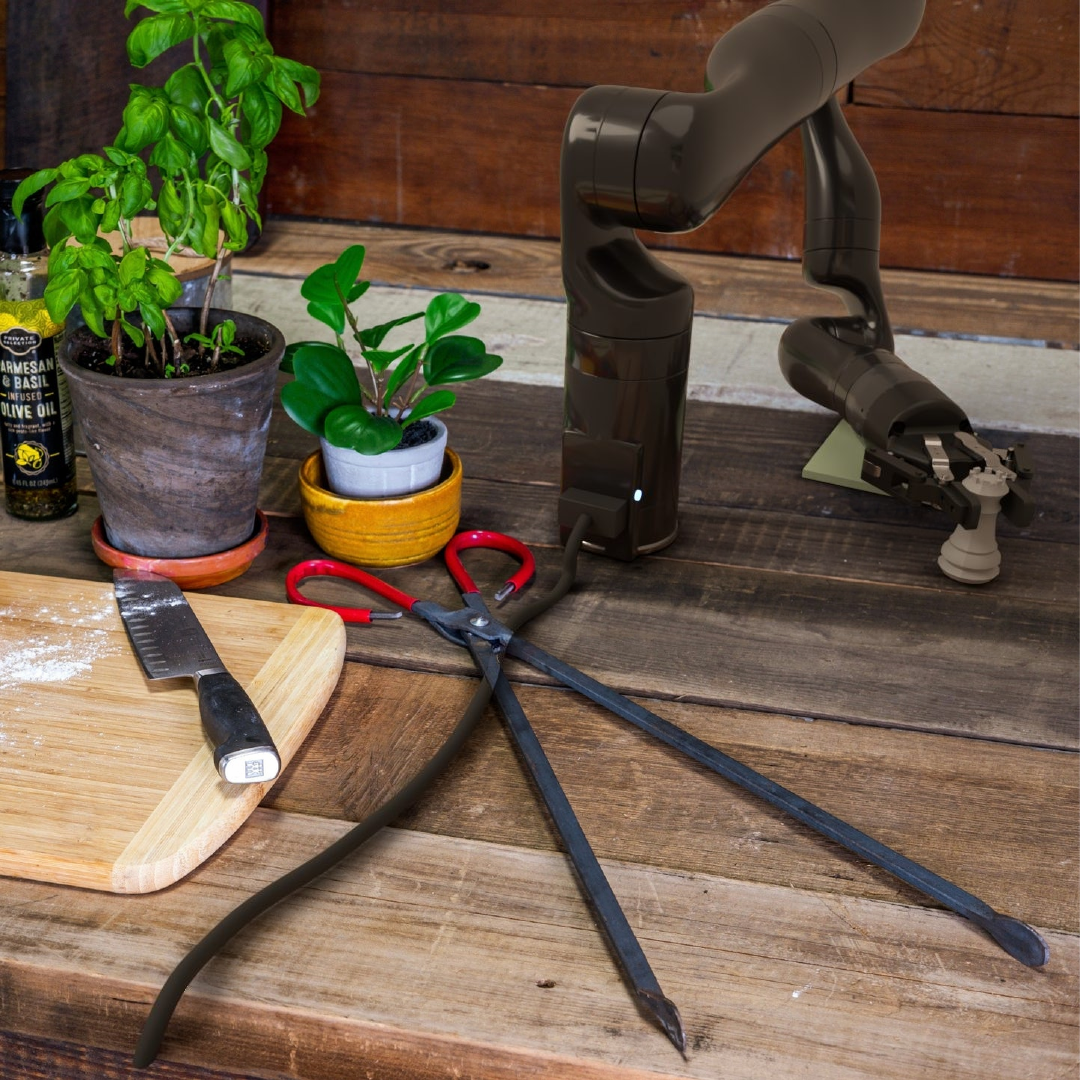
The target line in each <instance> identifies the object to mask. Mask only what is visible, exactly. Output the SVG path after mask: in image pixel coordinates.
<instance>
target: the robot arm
mask: <svg viewBox="0 0 1080 1080" xmlns="http://www.w3.org/2000/svg"><path fill="white" fill-rule="evenodd" d="M926 5H927V0H777V1H775V2H772V3H770V4H768V5H765V6H764V7H762V8H760V9H758V10H756V11H754V12H753V13H751V14H750V15H749V16H747V17H745V18H744V19H742V20H741V21H740V22H738V23H736V24H735V25H734V26H732V27H731V28H730V29H729V30H727V31H726V32H725V33H724V34H723V35H722V36H721V37H720V38H719V40H718V41H717V42H716V43H715V45H714V46H713V48H712V50H711V51H710V53H709V56H708V57H707V61H706V64H705V68H704V77H703V91H704V92H703V93H701V92H700V93H698V92H697V93H696V92H680V91H673V90H665V89H655V88H646V87H636V86H635V87H634V86H627V85H626V86H625V85H615V84H599V85H598V84H597V85H595V86H592V87H591V86H590V87H589V88H587V89H585V90H584V91H583V92H582V93H581V94H580V95H579V96H578V97H577V99H576V100H575V101H574V103H573V105H572V107H571V109H570V111H569V113H568V116H567V119H566V121H565V123H564V128H563V132H562V137H561V142H560V143H561V144H560V151H559V152H560V153H559V165H558V166H559V167H558V168H559V169H558V172H559V173H558V175H559V176H558V177H559V178H558V179H559V180H558V181H559V183H558V185H559V186H558V189H559V190H558V191H559V192H558V193H559V194H558V195H559V219H560V221H559V223H560V226H559V227H560V275H561V276H560V277H561V283H562V287H563V292H564V295H565V299H566V322H565V351H564V352H565V355H564V379H563V380H564V381H563V405H562V406H563V407H562V409H563V411H562V433H561V448H560V454H561V455H560V475H559V476H560V478H559V496H558V498H557V525H558V537H557V538H558V539H557V543H558V544H560V545H563V546H565V549H564V552H563V571H562V574H561V576H560V579H559V580H558V582H557V584H556V585H555V586H554V588H553V589H552V590H551V591H550V592H549V593H548V594H547V595H546V596H544V597H542V598H541V599H539V600H537V601H535V602H532V603H530V604H528V605H525V606H524V607H522V608H521V609H519V610H517V611H516V612H514V613H513V614H511V615H510V616H509V617H508V619H507V620H505V622H504V623H503V625H505V626H506V627H507V628H509V629H510V630H511V631H513V632H514V633H515V634H516V632H517V631H518V629H520V628H521V626H522V625H524V624H525V623H526V622H528V621H529V620H531V619H533V618H535V617H537V616H539V615H540V614H542V613H543V612H544V611H545V610H547V609H549V608H550V607H552V606H553V605H554V604H555V603H557V602H558V601H560V600H561V599H562V598H564V596H566V594H568V592H569V591H570V589H571V587H572V585H573V583H574V582H575V579H576V576H577V572H578V571H577V570H578V554H579V550H583V551H587V552H591V553H593V554H599V555H603V556H606V557H610V558H615V559H618V560H622V561H625V562H631V561H633V560H634V559H635V558H637V557H638V556H643V555H647V554H651V553H655V552H658V551H660V550H662V549H665V548H666V547H668V546H669V545H671V544H672V543H673V542H674V540H676V537H677V536H678V527H679V522H678V521H679V520H678V511H679V499H680V485H681V474H682V473H681V471H682V461H683V449H684V448H683V446H684V435H685V425H686V423H685V421H686V412H687V411H686V409H687V400H688V399H687V397H688V386H689V373H690V362H691V352H692V351H691V350H692V341H693V340H692V339H693V338H692V337H693V327H694V316H695V306H696V304H695V303H696V301H695V299H696V298H695V290H694V288H693V285H692V284H691V282H690V281H689V279H687V278H686V277H685V276H684V275H682V274H681V273H679V272H677V271H676V270H675V269H673V268H671V267H669V266H668V265H666V264H665V263H664V262H662V261H661V260H660V259H658V258H657V257H656V256H655V255H654V254H653V253H651V251H649V250H648V248H647V247H646V245H644V243H643V242H642V240H641V239H640V238H639V236H638V234H637V232H636V230H638V231H645V232H651V233H655V234H656V233H657V234H663V235H664V234H665V235H682V234H689V233H691V232H694V231H697V229H699V228H701V227H702V226H704V225H705V224H706V223H708V222H709V221H710V220H711V219H712V218H713V217H714V216H715V215H716V214H717V213H718V212H719V211H720V209H722V208H723V206H724V205H725V204H726V203H727V201H728V200H729V199H730V198H731V197H732V196H733V194H734V193H735V192H736V190H737V189H738V188H739V187H740V185H741V184H742V183H743V182H744V180H746V178H747V177H748V176H749V174H750V173H751V171H752V170H753V169H754V168H755V167H756V166H757V165H758V163H760V161H761V160H762V159H764V158H765V157H766V156H767V154H769V153H770V152H771V151H772V150H773V149H774V148H775V147H776V146H778V144H779V143H780V142H781V141H782V140H783V139H785V138H786V137H787V136H788V135H789V134H791V133H792V132H793V131H795V130H796V129H798V128H799V132H800V143H801V153H802V163H803V187H804V189H803V190H804V193H803V194H804V196H803V198H804V199H803V203H804V204H803V225H802V249H801V252H802V254H801V276H802V281H803V282H804V283H805V284H806V285H807V286H808V287H811V288H813V289H816V290H819V291H823V292H827V293H830V294H833V295H836V296H837V297H839V298H840V300H841V301H842V303H843V304H844V307H845V308H846V309H845V310H846V312H847V314H848V315H821V314H820V315H819V314H818V315H817V314H815V315H813V314H812V315H804V316H801V317H798V318H796V319H795V320H794V321H792V322H790V324H788V326H787V327H785V329H784V331H783V332H782V334H781V336H780V338H779V341H778V345H777V361H778V366H779V369H780V371H781V375H782V376H783V378H784V380H785V381H786V383H787V384H788V386H789V387H790V388H791V389H792V390H794V391H795V392H796V393H797V394H799V395H800V396H802V397H803V398H805V399H807V400H809V401H810V402H812V403H815V404H817V405H819V406H821V407H823V408H825V409H827V410H830V411H833V412H835V413H837V414H838V415H839V416H840V417H841V418H842V419H844V420H845V421H846V422H847V424H848V425H849V426H850V427H851V428H852V430H853V432H854V434H855V435H856V437H857V438H858V440H859V441H860V442H861V444H862V445H863V446H864V447H865V452H864V458H863V464H862V470H861V476H860V478H861V479H862V480H863V481H865V482H867V483H869V484H871V485H873V486H874V487H876V488H878V489H880V490H882V491H883V492H885V493H887V494H889V495H891V496H890V497H892V498H894V499H896V500H898V501H900V502H901V503H903V504H905V505H907V506H909V507H912V508H913V507H914V508H918V507H922V505H923V503H922V501H924V502H930V503H931V505H930V506H931V507H932V508H933V509H935V510H939V511H940V510H941V511H942V512H944V514H945V515H947V517H949V519H950V521H952V522H953V523H956V524H957V525H958V524H960V525H961V526H962V527H963V528H964V529H965V530H976V529H977V527H978V523H979V518H980V514H981V503H980V501H979V500H978V499H977V498H976V497H975V496H974V495H973V494H972V493H971V492H970V491H969V490H968V489H967V488H966V487H965V486H964V485H963V484H962V481H963V480H964V479H965V478H967V477H968V476H969V474H970V470H973V468H976V467H980V468H981V470H980V473H984V472H985V467H989V468H992V473H991V474H993V475H996V471H998V470H1000V471H1001V472H1003V473H1004V474H1003V476H1006V480H1005V483H1006V484H1007V486H1008V488H1009V492H1008V493H1007V494H1006V495H1004V496H1003V497H1002V498H1001V499H1000V501H999V504H1000V505H1001V511H999V512H1000V513H1001V514H1002V515H1003V516H1004V517H1005V518H1006V519H1007V520H1008V521H1009V522H1010V523H1011V524H1012V525H1013V526H1014V527H1015V528H1017V529H1023V528H1029V527H1030V524H1031V522H1032V521H1033V520H1034V519H1033V518H1034V514H1035V510H1036V506H1037V500H1036V499H1035V498H1034V497H1033V496H1032V495H1031V494H1030V492H1031V488H1032V483H1033V480H1034V478H1035V475H1036V468H1035V464H1034V459H1033V456H1032V452H1031V447H1030V444H1029V443H1027V442H1024V441H1014V442H1013V443H1012V445H1011V447H1010V446H1009V447H1008V448H1007V449H1003V448H995V447H993V445H992V443H991V442H990V441H988V440H987V439H985V438H982V437H980V436H978V435H977V436H976V435H975V434H974V433H975V432H974V430H973V427H972V424H971V421H970V420H969V419H970V418H969V417H968V415H967V413H966V412H965V411H964V409H962V408H961V406H960V405H958V404H957V403H956V402H955V401H953V399H952V398H950V397H949V396H948V395H946V393H945V392H944V391H942V390H941V389H940V388H939V387H938V386H937V385H936V384H935V383H933V382H932V381H931V380H930V379H929V378H927V377H926V376H925V375H923V374H922V373H920V372H918V371H916V370H914V369H913V368H912V367H910V366H909V365H908V364H907V363H906V362H905V361H904V360H902V359H901V358H900V357H899V356H898V355H896V346H895V344H896V343H895V338H894V333H893V328H892V324H891V321H890V317H889V313H888V309H887V303H886V299H885V295H884V289H883V284H882V283H883V282H882V277H881V271H880V251H881V227H882V224H881V223H882V198H881V191H880V186H879V183H878V179H877V176H876V174H875V172H874V170H873V167H872V165H871V164H870V162H869V159H868V158H867V156H866V154H865V152H864V150H863V149H862V147H861V146H860V144H859V142H858V141H857V139H856V137H855V135H854V133H853V132H852V130H851V127H850V126H849V124H848V122H847V120H846V119H847V118H846V117H845V115H844V113H843V110H842V108H841V104H840V100H839V96H838V93H839V92H840V91H841V90H843V89H844V88H846V86H847V85H849V84H850V83H851V82H852V81H854V80H855V79H856V78H857V77H858V76H859V75H861V73H863V72H864V71H865V70H867V69H869V68H871V66H873V65H876V63H878V62H880V61H882V60H884V59H886V58H888V57H890V56H892V55H894V54H896V53H898V52H900V51H902V50H903V49H904V48H906V47H907V46H908V45H909V44H910V43H911V42H912V40H913V39H914V37H915V35H916V34H917V32H918V30H919V28H920V26H921V24H922V20H923V17H924V14H925V10H926ZM902 483H904V484H908V488H907V489H906V488H905V487H903V484H902ZM493 648H494V646H493V645H492V648H491V651H493ZM506 652H507V650H506V651H504V650H503V651H502V654H498V660H499V662H500V663H499V664H500V667H501V668H502V667H503V663H504V660H505V655H506ZM493 693H494V691H492V687H490V688H489V684H488V683H487V681H486V678H485V673H484V675H483V677H482V680H481V682H480V684H479V686H478V688H477V690H476V691H475V693H474V695H473V697H472V699H471V700H470V702H469V705H468V706H467V708H466V710H465V712H464V714H463V715H462V717H461V719H460V720H459V722H458V724H457V725H456V727H455V728H454V730H453V731H452V732H451V733H450V735H449V737H448V738H447V739H446V741H445V742H444V743H443V744H442V746H441V747H440V748H439V749H438V751H437V752H436V753H435V754H434V755H433V757H431V759H430V760H429V761H428V762H427V764H426V765H424V767H423V768H422V769H421V770H420V771H419V772H418V773H417V774H416V775H415V776H414V777H413V778H411V780H410V781H409V782H408V783H406V785H405V786H403V787H402V788H401V789H400V790H399V791H398V792H396V794H394V796H392V797H391V798H390V799H388V801H386V802H385V803H384V804H383V805H382V806H380V807H379V808H377V810H375V811H374V812H372V813H371V814H370V815H369V816H367V817H366V818H365V819H364V820H363V821H361V822H360V823H358V824H357V825H356V826H355V827H352V829H350V830H349V831H348V832H347V833H346V834H344V835H343V836H342V837H340V838H339V839H338V840H336V841H335V842H334V843H333V844H332V845H330V846H328V847H327V848H326V849H324V850H323V851H321V852H320V853H318V854H316V855H315V856H313V857H312V858H311V859H309V860H307V861H306V862H304V863H302V864H301V865H299V866H298V867H296V868H294V869H293V870H291V871H289V872H287V873H286V874H285V875H283V876H281V877H280V878H278V879H276V880H274V881H273V882H271V883H269V884H268V885H266V886H265V887H263V888H262V889H260V890H258V891H257V892H256V893H254V894H253V895H251V896H250V897H248V898H247V899H246V900H244V901H243V902H242V903H241V904H239V905H238V906H237V907H236V908H234V909H233V910H232V911H231V912H229V913H228V914H227V915H226V916H225V917H224V918H223V919H221V920H220V921H219V922H218V923H217V924H216V925H215V926H214V927H213V928H212V929H211V930H210V931H209V932H208V933H207V934H206V935H205V936H204V937H203V938H202V939H201V940H200V941H198V942H197V944H196V945H194V947H193V948H192V949H190V951H188V953H187V954H186V955H185V956H184V957H183V958H182V960H180V962H179V963H178V964H177V965H176V966H175V968H174V969H173V971H171V973H170V975H169V976H168V977H167V979H166V980H165V982H164V983H163V986H162V988H161V989H160V991H159V993H158V995H157V996H156V999H155V1001H154V1003H153V1005H152V1006H151V1009H150V1012H149V1014H148V1016H147V1018H146V1021H145V1022H144V1023H145V1024H144V1026H143V1029H142V1030H141V1033H140V1036H139V1039H138V1042H137V1045H136V1048H135V1051H134V1054H133V1058H132V1061H131V1062H132V1066H133V1068H134V1069H137V1070H143V1069H146V1068H149V1067H150V1066H151V1065H152V1064H153V1063H154V1062H155V1061H156V1058H157V1056H158V1054H159V1050H160V1047H161V1045H162V1041H163V1039H164V1037H165V1034H166V1031H167V1029H168V1026H169V1024H170V1021H171V1019H172V1017H173V1015H174V1013H175V1010H176V1008H177V1007H178V1004H179V1003H180V1000H181V998H182V997H183V995H184V993H185V992H186V990H187V989H188V987H189V986H190V984H191V983H192V981H193V980H194V979H195V978H196V976H197V975H198V974H199V972H201V970H202V969H203V968H204V967H205V966H206V965H207V964H208V962H209V961H211V960H212V958H214V956H215V955H216V954H218V952H220V950H222V948H224V946H226V945H227V943H228V942H229V941H230V940H231V939H233V938H234V937H235V936H236V935H237V934H238V933H239V932H240V931H241V930H242V929H244V928H245V927H246V926H247V925H248V924H249V923H251V922H252V921H253V920H254V919H256V918H257V917H258V916H260V915H262V913H264V912H265V911H266V910H268V909H269V908H270V907H272V906H274V905H276V904H277V903H278V902H279V901H281V900H283V899H284V898H286V897H288V896H289V895H291V894H292V893H294V892H296V891H297V890H299V889H300V888H302V887H304V886H306V885H307V884H308V883H311V882H312V881H313V880H315V879H316V878H318V877H319V876H321V875H323V874H324V873H326V872H327V871H329V870H330V869H332V868H333V867H334V866H336V865H338V864H339V863H340V862H342V861H343V860H344V859H346V858H347V857H348V856H350V855H351V854H352V853H353V852H355V851H356V850H357V849H358V848H360V847H361V846H363V844H364V843H366V842H367V841H369V840H370V839H371V838H372V837H373V836H375V835H376V834H378V832H380V831H381V830H382V829H383V828H384V827H386V826H387V825H388V824H390V823H391V822H392V821H393V820H394V819H396V818H397V817H398V816H399V815H400V814H401V813H403V812H404V811H405V810H406V809H408V808H409V807H410V805H412V804H413V803H414V802H416V800H417V799H418V798H420V796H421V795H422V794H424V792H426V791H427V789H429V787H430V786H431V785H432V784H433V783H434V782H435V781H436V780H437V779H438V778H439V776H440V775H441V774H442V773H443V772H444V771H445V770H446V768H447V767H448V766H449V765H450V764H451V762H452V761H453V760H454V759H455V758H456V756H457V755H458V754H459V752H460V750H461V749H462V748H463V747H464V745H465V744H466V742H467V741H468V739H469V737H470V736H471V734H472V733H473V731H474V730H475V727H476V726H477V724H478V722H479V720H480V719H481V716H482V714H483V713H484V711H485V709H486V707H487V705H488V703H489V701H490V700H491V697H492V696H493ZM187 986H188V987H187ZM185 989H186V990H185ZM184 991H185V992H184Z"/></svg>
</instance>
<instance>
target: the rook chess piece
mask: <svg viewBox="0 0 1080 1080" xmlns="http://www.w3.org/2000/svg"><path fill="white" fill-rule="evenodd" d="M980 470H981V468H980V467H976V468H973V470H970V474H969V476H968V477H967V478H965V479H964V480H963V481H962V484H963V485H964V486H965V487H966V488H967V489H968V490H969V491H970V492H971V493H972V494H973V495H974V496H975V497H976V498H977V499H978V500H979V501H980V503H981V514H980V518H979V523H978V527H977V529H976V530H965V529H964V528H963V527H962V526H961V525H960V524H957V526H956V528H955V530H954V531H953V533H951V534H950V536H949V539H947V540H946V541H945V542H943V544H942V546H941V549H940V553H941V555H939V556H938V558H937V564H938V565H939V567H940V569H941V571H942V572H943V574H944V575H946V576H947V577H949V578H950V579H953V580H954V581H955V580H956V581H958V582H961V583H964V584H965V583H966V584H971V585H972V584H974V585H975V584H976V585H977V584H978V585H979V584H984V583H985V584H986V583H989V582H991V580H993V579H994V578H996V577H997V576H998V575H999V574H1000V567H999V565H1000V564H1001V561H1002V556H1001V552H1000V551H999V549H998V546H999V544H998V543H997V541H996V525H997V517H998V513H999V512H1000V511H1001V505H1000V504H999V501H1000V499H1001V498H1002V497H1003V496H1004V495H1006V494H1007V493H1008V492H1009V488H1008V486H1007V484H1006V483H1005V480H1006V476H1003V474H1004V473H1003V472H1001V471H1000V470H998V471H996V475H993V474H991V473H992V468H989V467H985V472H984V473H980Z"/></svg>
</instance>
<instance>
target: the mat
mask: <svg viewBox="0 0 1080 1080" xmlns="http://www.w3.org/2000/svg"><path fill="white" fill-rule="evenodd" d="M974 434H975V435H976V436H978V433H977V432H974ZM864 452H865V447H864V446H863V445H862V444H861V442H860V441H859V440H858V438H857V437H856V435H855V434H854V432H853V430H852V428H851V427H850V426H849V425H848V424H847V422H846V421H845V420H844V419H843V418H842V419H841V420H840V421H839V422H838V424H837V425H836V427H835V428H834V429H833V430H832V432H831V433H830V434H829V435H828V436H827V438H826V439H825V440H824V442H823V443H822V445H821V446H820V447H819V448H818V450H816V452H815V453H814V454H813V456H812V457H811V458H810V459H809V461H808V462H807V463H806V465H805V466H804V467H803V469H802V474H801V478H803V479H809V480H813V481H817V482H822V483H827V484H832V485H837V486H840V487H845V488H851V489H855V490H859V491H864V492H870V493H874V494H879V495H884V496H887V497H892V496H891V495H889V494H887V493H885V492H883V491H882V490H880V489H878V488H876V487H874V486H873V485H871V484H869V483H867V482H865V481H863V480H862V479H861V478H860V476H861V470H862V464H863V458H864ZM902 484H903V487H905V488H906V489H907V488H908V484H904V483H902ZM922 504H925V505H929V506H932V505H931V503H930V502H924V501H922Z"/></svg>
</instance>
